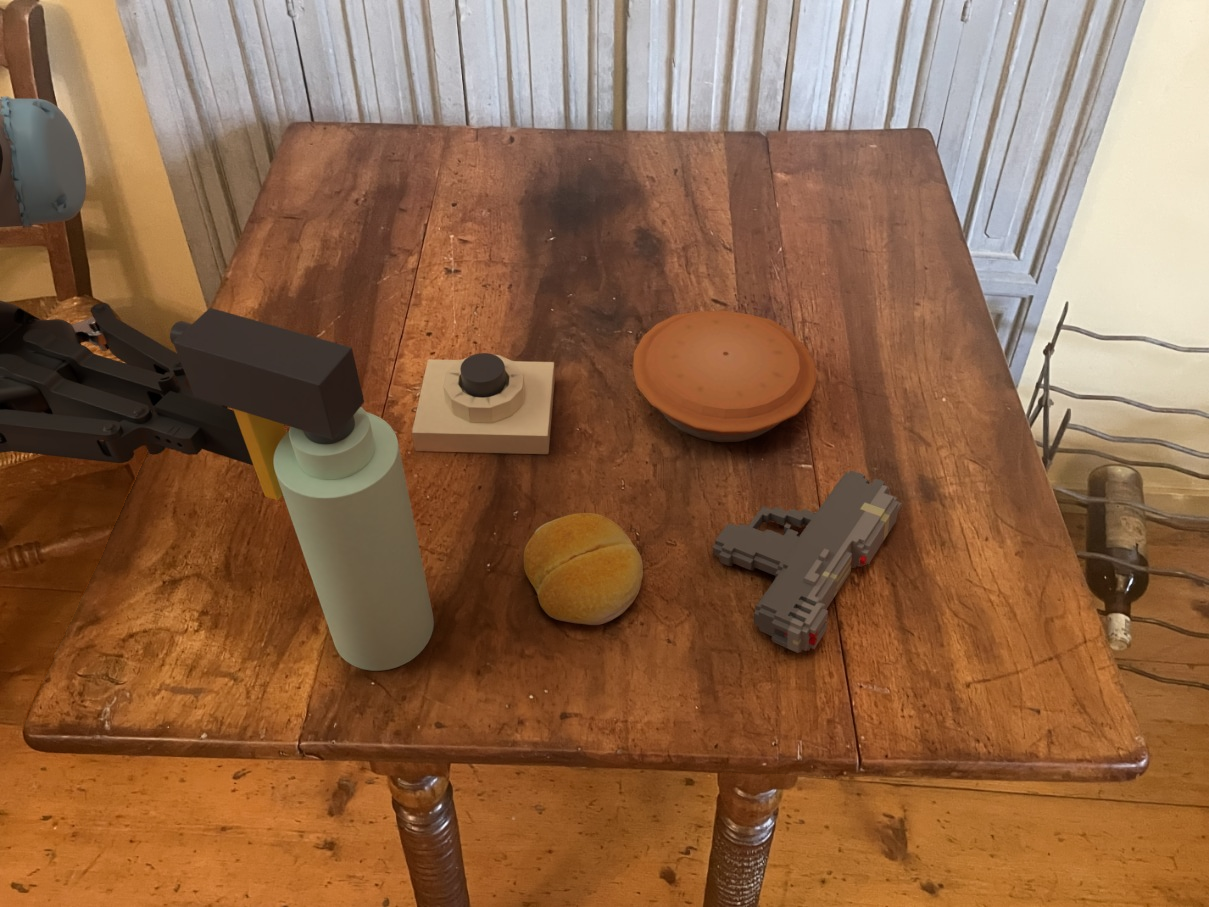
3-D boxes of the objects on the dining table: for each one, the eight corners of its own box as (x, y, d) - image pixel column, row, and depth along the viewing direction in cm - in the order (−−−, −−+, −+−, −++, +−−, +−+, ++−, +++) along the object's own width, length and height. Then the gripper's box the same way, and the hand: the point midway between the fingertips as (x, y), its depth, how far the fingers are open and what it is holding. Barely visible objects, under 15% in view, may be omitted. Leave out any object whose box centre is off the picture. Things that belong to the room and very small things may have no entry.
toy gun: (680, 575, 70) (809, 631, 65) (785, 444, 79) (905, 484, 74) (683, 608, 72) (808, 665, 67) (784, 477, 81) (901, 518, 76)
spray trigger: (264, 496, 60) (231, 406, 55) (286, 470, 62) (256, 379, 56) (278, 501, 60) (246, 410, 55) (300, 474, 62) (271, 383, 56)
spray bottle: (249, 628, 69) (129, 358, 51) (305, 554, 74) (212, 282, 56) (403, 684, 66) (332, 420, 48) (451, 604, 71) (403, 334, 53)
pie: (826, 458, 81) (838, 415, 77) (638, 465, 80) (641, 421, 77) (791, 337, 92) (799, 294, 88) (625, 342, 91) (626, 299, 87)
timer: (415, 451, 81) (408, 416, 78) (430, 377, 87) (425, 343, 84) (548, 454, 81) (547, 419, 78) (554, 380, 87) (553, 346, 84)
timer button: (459, 397, 80) (457, 381, 79) (465, 368, 83) (463, 352, 81) (503, 398, 80) (502, 382, 79) (507, 369, 83) (506, 353, 81)
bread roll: (557, 646, 68) (555, 614, 66) (512, 552, 74) (509, 518, 71) (664, 606, 71) (667, 573, 68) (612, 518, 76) (613, 484, 73)
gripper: (48, 331, 71) (330, 417, 66) (-100, 452, 63) (208, 562, 57) (3, 244, 66) (306, 329, 60) (-165, 364, 57) (168, 476, 52)
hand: (258, 442), depth 59 cm, fingers closed
